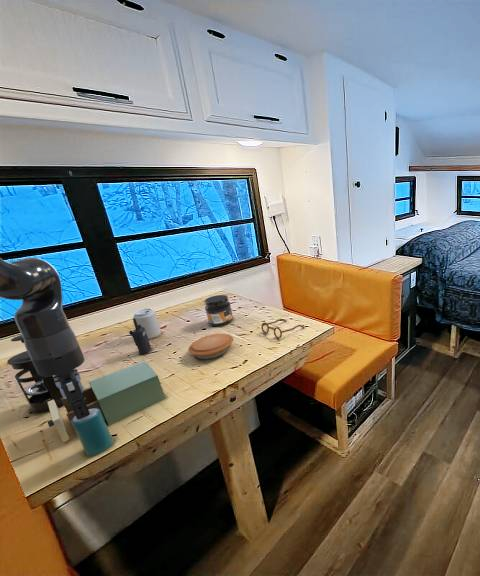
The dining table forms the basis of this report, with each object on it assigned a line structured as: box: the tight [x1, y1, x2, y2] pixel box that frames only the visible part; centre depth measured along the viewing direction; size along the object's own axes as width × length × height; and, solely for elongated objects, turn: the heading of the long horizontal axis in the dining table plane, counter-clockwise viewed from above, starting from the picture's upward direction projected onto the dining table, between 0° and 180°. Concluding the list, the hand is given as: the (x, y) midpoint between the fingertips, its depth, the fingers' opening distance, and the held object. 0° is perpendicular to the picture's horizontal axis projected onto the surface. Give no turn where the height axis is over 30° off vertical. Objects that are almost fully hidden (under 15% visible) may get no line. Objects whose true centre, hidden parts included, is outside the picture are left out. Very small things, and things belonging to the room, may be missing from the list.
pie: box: [187, 333, 234, 360], centre depth 118 cm, size 16×16×5 cm
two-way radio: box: [128, 317, 152, 355], centre depth 117 cm, size 6×4×15 cm
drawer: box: [47, 386, 106, 443], centre depth 84 cm, size 14×11×7 cm
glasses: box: [261, 318, 305, 340], centre depth 133 cm, size 13×13×5 cm
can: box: [132, 308, 162, 340], centre depth 130 cm, size 8×8×12 cm
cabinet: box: [88, 360, 166, 426], centre depth 91 cm, size 14×13×9 cm
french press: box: [6, 334, 64, 414], centre depth 89 cm, size 12×9×23 cm
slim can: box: [70, 408, 114, 457], centre depth 75 cm, size 5×5×10 cm
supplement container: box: [204, 294, 234, 327], centre depth 141 cm, size 10×10×12 cm
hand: (80, 408), depth 72 cm, fingers open, 8 cm apart
